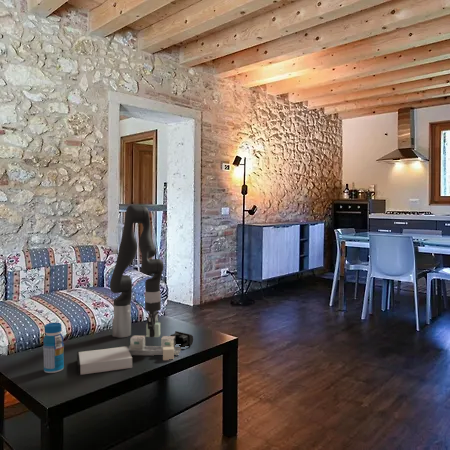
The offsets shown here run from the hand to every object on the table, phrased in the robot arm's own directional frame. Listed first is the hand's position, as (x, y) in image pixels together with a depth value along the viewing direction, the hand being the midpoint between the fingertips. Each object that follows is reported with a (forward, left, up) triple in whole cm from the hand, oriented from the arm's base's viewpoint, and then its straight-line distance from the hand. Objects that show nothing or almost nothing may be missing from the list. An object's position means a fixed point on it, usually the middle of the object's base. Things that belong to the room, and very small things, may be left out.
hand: (153, 335), depth 203 cm
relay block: (+9, -7, -9) cm, 14 cm away
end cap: (+12, +11, -9) cm, 19 cm away
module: (0, 0, 0) cm, 0 cm away
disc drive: (-19, -16, -9) cm, 26 cm away
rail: (0, 0, -9) cm, 9 cm away
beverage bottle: (-38, -24, -9) cm, 46 cm away
